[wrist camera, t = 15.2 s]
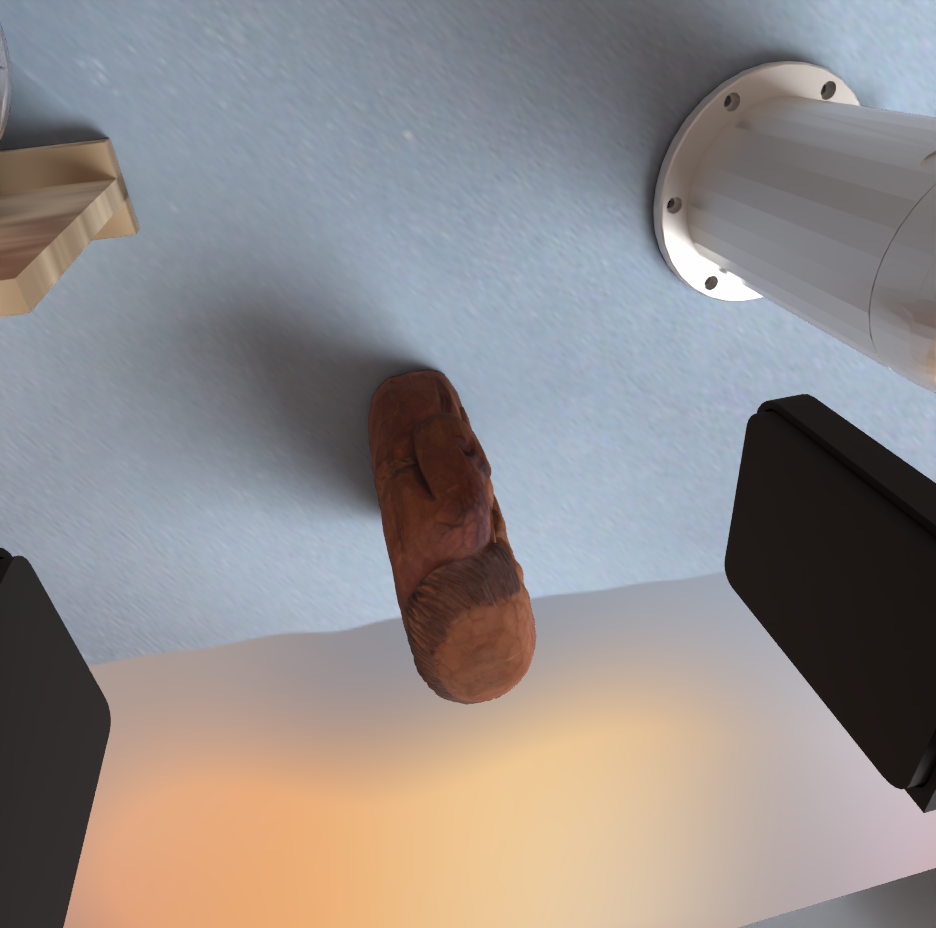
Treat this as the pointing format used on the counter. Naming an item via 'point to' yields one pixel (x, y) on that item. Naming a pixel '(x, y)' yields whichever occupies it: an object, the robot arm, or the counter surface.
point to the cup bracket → (4, 83)
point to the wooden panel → (55, 214)
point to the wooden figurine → (448, 542)
